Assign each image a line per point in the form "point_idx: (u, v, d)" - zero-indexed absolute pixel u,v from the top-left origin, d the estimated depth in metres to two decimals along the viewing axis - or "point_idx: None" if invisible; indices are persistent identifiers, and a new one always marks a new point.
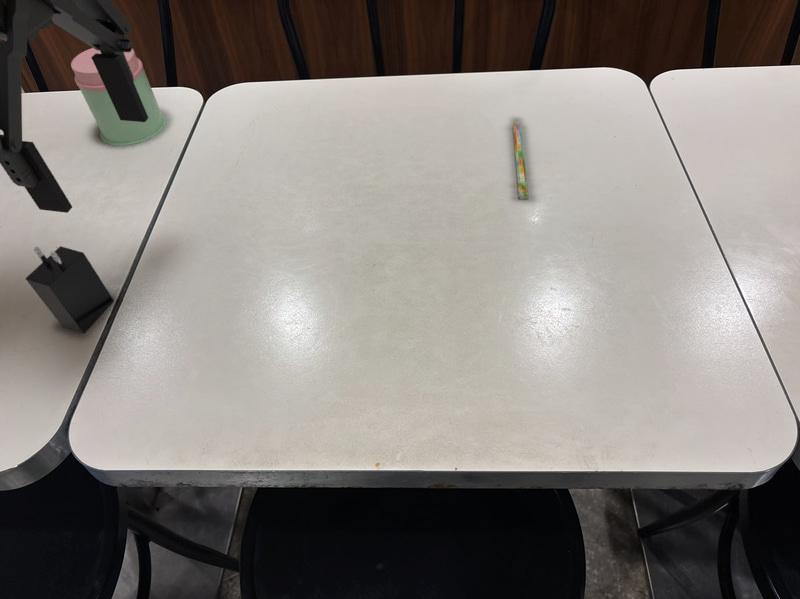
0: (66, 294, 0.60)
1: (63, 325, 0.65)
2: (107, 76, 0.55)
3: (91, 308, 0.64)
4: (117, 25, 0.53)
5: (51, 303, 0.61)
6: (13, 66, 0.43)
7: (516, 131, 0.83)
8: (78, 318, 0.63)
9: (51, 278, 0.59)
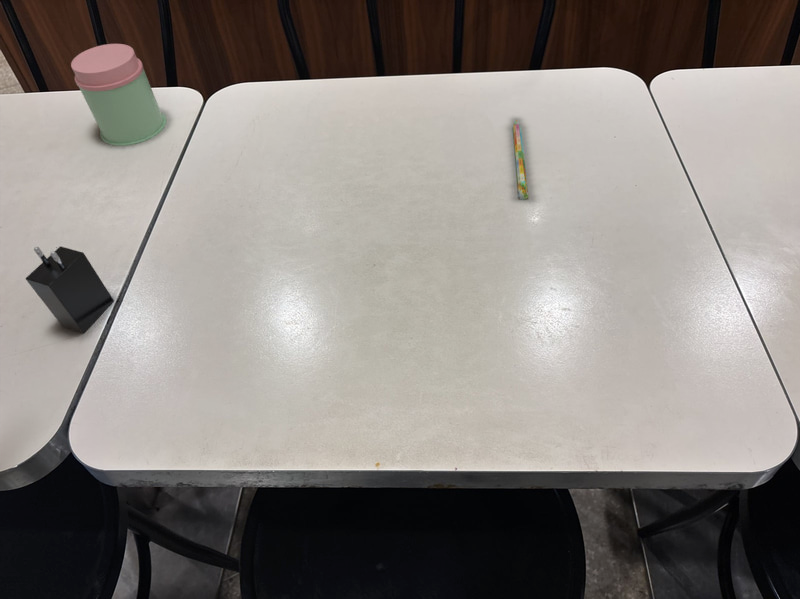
0: (66, 294, 0.60)
1: (63, 325, 0.65)
2: None
3: (91, 308, 0.64)
4: None
5: (51, 303, 0.61)
6: None
7: (516, 131, 0.83)
8: (78, 318, 0.63)
9: (51, 278, 0.59)
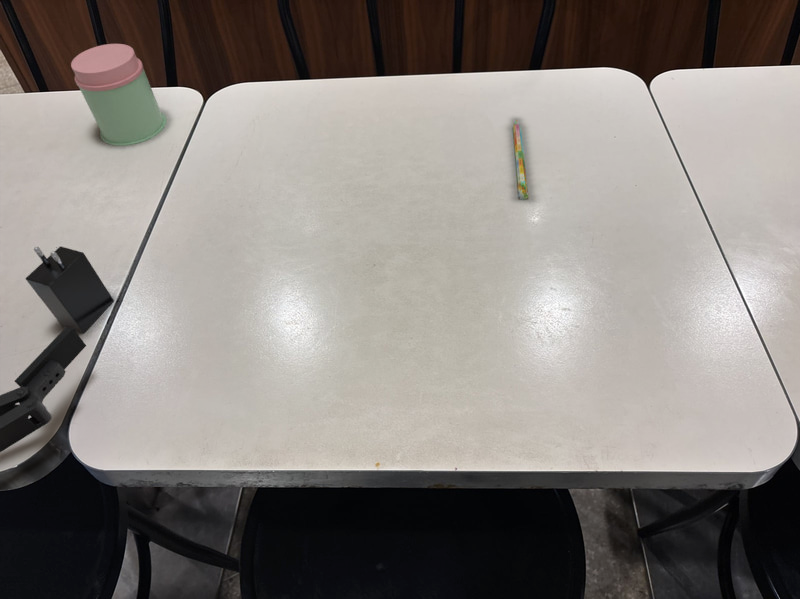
0: (66, 294, 0.60)
1: (63, 325, 0.65)
2: None
3: (91, 308, 0.64)
4: None
5: (51, 303, 0.61)
6: None
7: (516, 131, 0.83)
8: (78, 318, 0.63)
9: (51, 278, 0.59)
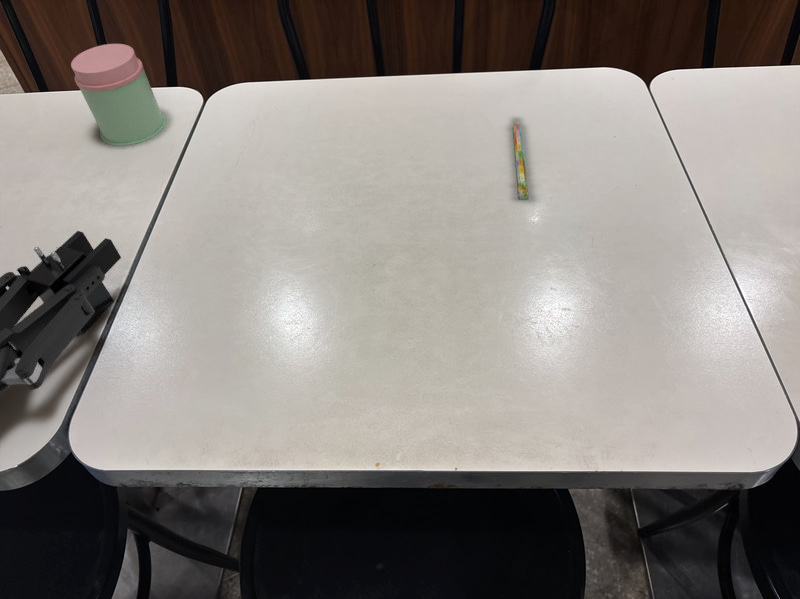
0: None
1: None
2: None
3: None
4: None
5: None
6: None
7: (516, 131, 0.83)
8: None
9: (51, 278, 0.59)
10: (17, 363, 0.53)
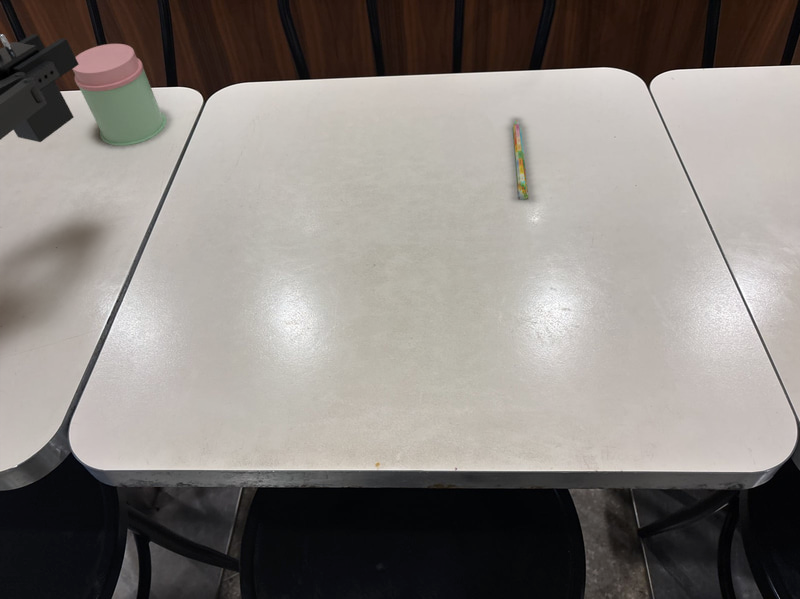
0: None
1: (17, 132, 0.62)
2: None
3: (46, 113, 0.61)
4: None
5: None
6: None
7: (516, 131, 0.83)
8: (31, 119, 0.60)
9: (0, 64, 0.56)
10: None
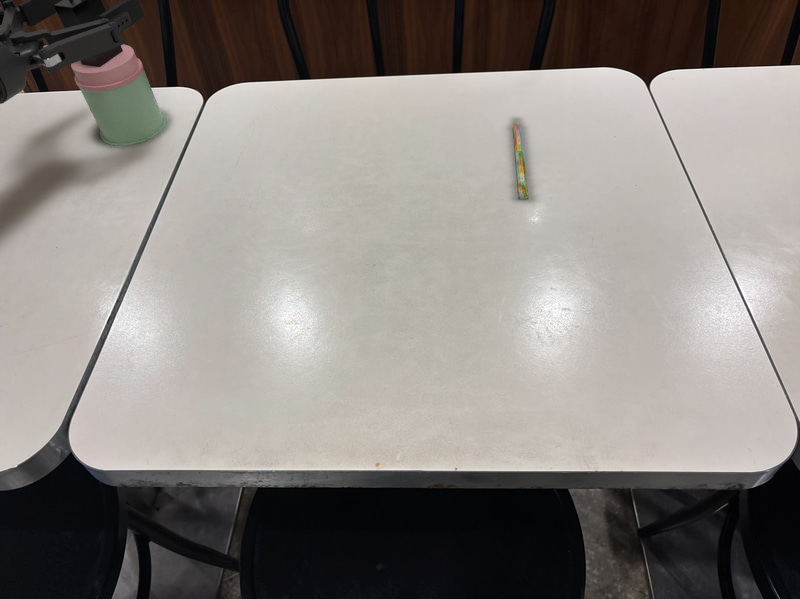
0: (85, 22, 0.77)
1: (82, 60, 0.81)
2: None
3: None
4: None
5: None
6: None
7: (516, 131, 0.83)
8: None
9: (74, 4, 0.76)
10: (44, 47, 0.69)
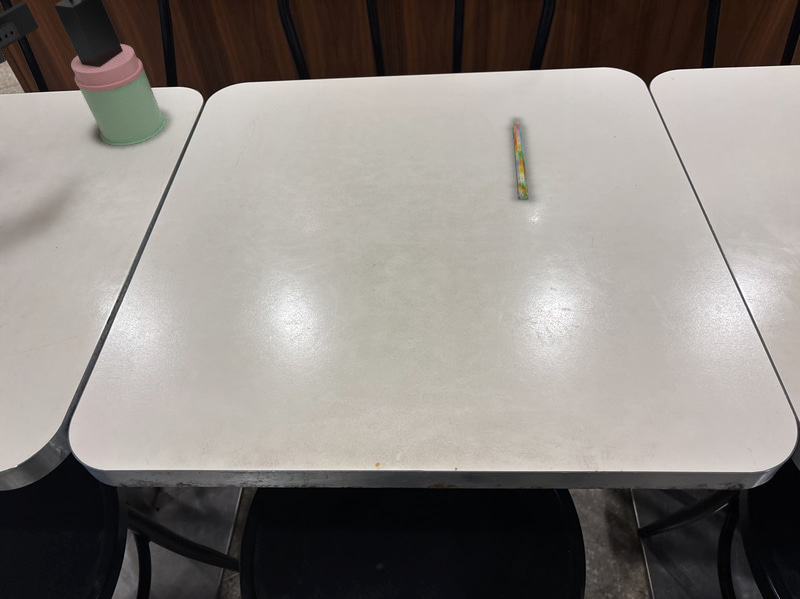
0: (85, 22, 0.77)
1: (82, 60, 0.81)
2: None
3: (104, 45, 0.81)
4: None
5: (73, 31, 0.78)
6: None
7: (516, 131, 0.83)
8: (94, 49, 0.80)
9: (74, 4, 0.76)
10: None
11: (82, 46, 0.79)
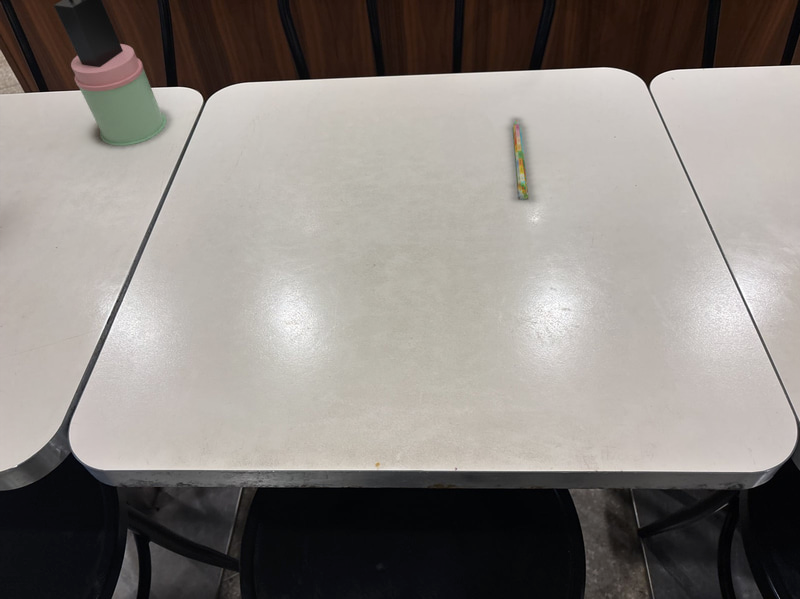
0: (85, 22, 0.77)
1: (82, 60, 0.81)
2: None
3: (104, 45, 0.81)
4: None
5: (73, 31, 0.78)
6: None
7: (516, 131, 0.83)
8: (94, 49, 0.80)
9: (74, 4, 0.76)
10: None
11: (82, 46, 0.79)
